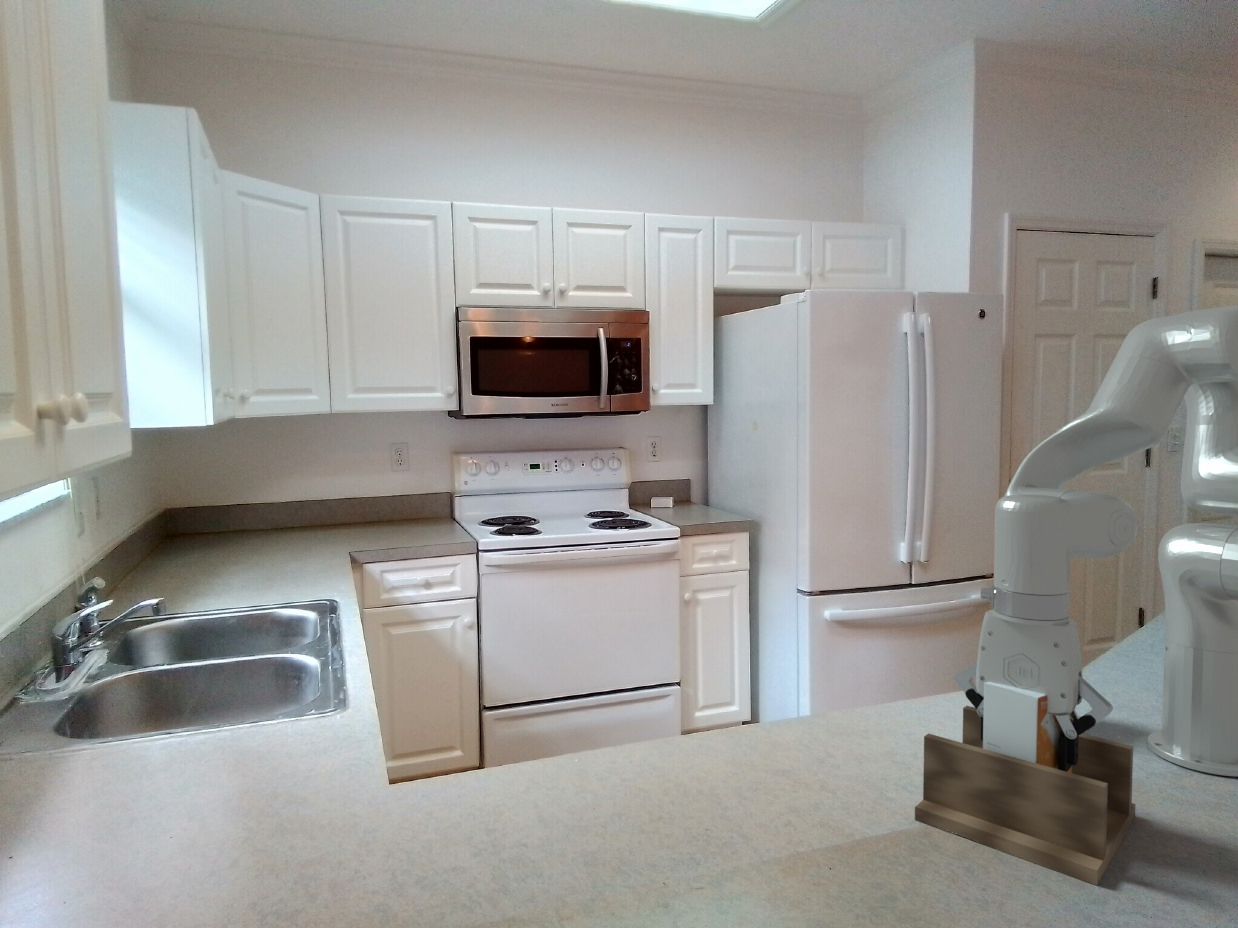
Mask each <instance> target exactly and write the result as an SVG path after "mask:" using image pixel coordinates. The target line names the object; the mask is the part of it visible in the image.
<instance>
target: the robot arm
mask: <svg viewBox="0 0 1238 928" xmlns="http://www.w3.org/2000/svg"><path fill="white" fill-rule="evenodd" d="M1183 399H1184V403H1185V407H1186V428H1185V433H1184V434H1185V435H1184V446H1183V453H1182V455H1183V456H1182V463H1181V464H1182V465H1181V472H1180V473H1181V475H1180V493H1181V497H1182V499H1183V502H1185V504H1186V505H1188V506H1189V507H1190V508H1192V509H1194V510H1196V511H1197V510H1198V511H1200V512H1205V513H1210V514H1215V515H1216V514H1217V515H1226V516H1237V517H1238V304H1237V305H1236V304H1235V305H1227V306H1217V307H1211V308H1210V307H1209V308H1203V309H1196V310H1191V311H1185V312H1183V313H1181V312H1180V313H1178V314H1175V315H1168V316H1161V317H1155V318H1151V319H1149V320H1145V321H1143V322H1141V323H1139V324H1137V325H1136V326H1135V327H1133V328H1132V329H1131V330H1129V333H1127V335H1126V337H1125V338H1124V340H1123V342H1122V344H1121V346H1120V348H1119V349H1118V352H1117V353H1116V355H1115V357H1114V359H1113V361H1112V362H1111V365H1110V367H1109V369H1108V370H1107V373H1106V375H1105V376H1104V378H1103V380H1102V382H1101V385H1100V386H1099V388H1098V389H1097V392H1096V394H1095V396H1094V398H1093V400H1092V401H1091V404H1090V405H1089V407H1088V409H1087V410H1086V411H1085V412H1083V413H1082V414H1081V415H1079V416H1078V417H1076V418H1074V419H1073V420H1071V421H1069V422H1067V424H1065V425H1063V426H1062V427H1060V428H1058V429H1057V430H1056V431H1055V432H1054V433H1052V434H1050V436H1048V437H1047V438H1045V440H1042V441H1041V442H1040V443H1039V444H1038V445H1036V446H1035V447H1034V448H1033V449H1032V450H1031V451H1030V452H1029V453H1028V454H1027V455H1026V456H1025V458H1024V459H1023V460H1022V462H1021V463H1020V465H1019V466H1018V468H1017V470H1016V472H1015V474H1014V476H1013V478H1012V479H1011V481H1010V483H1009V486H1008V487H1007V490H1006V492H1005V493H1004V495H1003V496H1002V497H1001V498H999V499H998V501H997V502H996V505H995V508H994V534H993V536H994V546H993V549H994V551H993V554H994V555H993V558H994V559H993V585H992V586H991V587H982V588H981V590H980V599H982V600H987V601H988V602H990V604H991V609H989V610H987V611H985V613H984V617H983V619H982V625H981V629H980V630H981V631H980V637H979V643H978V650H977V660H976V662H975V663H973V664H971V665H970V666H968V667H966V668H964V669H962V670H960V671H959V672H958V673H957V672H956V674H954V681H955V682H956V683H957V685H958V686H959V687H960V689H961V690H962V691H963V693H965V697H966V699H967V700H968V701H969V702H970V703H971V704H972V707H975V708H976V709H977V713H978V715H979V716H981V740H983V717H984V683H985V682H991V683H996V684H1001V685H1006V686H1011V687H1015V688H1020V689H1025V690H1029V691H1033V692H1037V693H1041V694H1045V695H1047V700H1048V702H1047V712H1048V713H1049V714H1052V715H1055V716H1056V718H1057V720H1058V722H1059V724H1060V726H1061V728H1062V730H1063V734H1062V735H1061V736H1060V737H1059V751H1058V770H1062V771H1065V772H1067V771H1068V770H1069V769H1070V768H1071V767H1072V765H1076V764H1077V762H1078V749H1079V735H1080V734H1085V732H1087V731H1089V730H1090V729H1092V728H1093V727H1094V726H1096V725H1097V724H1098V723H1100V722H1101V721H1102V720H1103V719H1105V718H1106V717H1108V715H1110V714H1111V713H1112V711H1113V710H1114V707H1113V705H1112V704H1111V703H1110V702H1109V701H1108V700H1107V699H1106V698H1105V697H1104V696H1103V695H1102V694H1101V693H1099V692H1098V691H1097V690H1096V689H1095V688H1094V687H1093V686H1092V685H1091V684H1090V683H1089V682H1088V681H1087V680H1086V679H1084V678H1083V666H1082V654H1081V645H1080V637H1079V634H1078V628H1077V624H1076V621H1075V619H1073V618H1070V574H1071V573H1070V569H1071V567H1070V566H1071V559H1072V558H1075V557H1076V558H1077V557H1078V558H1087V559H1089V558H1090V559H1107V558H1112V557H1115V556H1117V555H1120V554H1122V553H1123V552H1124V551H1126V550H1127V549H1129V547H1130V546H1132V544H1133V543H1134V541H1135V539H1136V536H1137V533H1138V517H1137V515H1136V513H1135V511H1134V508H1132V506H1131V505H1130V504H1129V503H1128V502H1126V501H1125V500H1123V499H1122V498H1120V496H1119V497H1118V496H1116V495H1114V494H1110V493H1105V492H1099V491H1086V490H1077V489H1076V490H1075V489H1069V488H1068V489H1067V488H1066V489H1065V488H1063V487H1064V486H1066V485H1067V483H1069V482H1070V481H1071V480H1072V479H1074V478H1076V477H1077V476H1078V475H1081V474H1082V473H1084V472H1086V471H1088V470H1091V469H1092V468H1093V469H1094V468H1095V467H1098V466H1100V465H1104V464H1106V463H1107V464H1108V463H1110V462H1114V461H1117V460H1120V459H1123V458H1127V457H1130V456H1132V455H1135V454H1137V453H1141V452H1144V451H1146V450H1148V449H1151V448H1153V447H1155V446H1156V445H1158V444H1159V443H1160V442H1161V441H1163V440H1164V438H1165V437H1166V435H1167V433H1168V432H1169V428H1170V427H1171V425H1172V422H1173V420H1174V418H1175V416H1176V413H1177V411H1178V409H1180V406H1181V404H1182V401H1183ZM1157 555H1158V556H1157V560H1158V561H1157V562H1158V567H1159V573H1160V576H1161V581H1162V588H1163V589H1162V590H1163V595H1164V612H1165V614H1164V615H1165V616H1164V620H1165V621H1164V649H1163V650H1164V654H1163V659H1164V660H1163V680H1162V681H1163V683H1162V684H1163V685H1162V686H1163V689H1162V715H1161V716H1162V717H1161V718H1162V720H1161V723H1162V724H1161V730H1158V731H1155V732H1152V733H1150V734H1149V735H1148V737H1147V747H1148V748H1149V750H1150V751H1151V752H1153V753H1154V754H1155V755H1157V756H1158V757H1160V758H1162V759H1164V760H1166V761H1168V762H1169V763H1173V764H1176V765H1178V766H1181V767H1184V768H1186V769H1190V770H1193V771H1198V772H1202V773H1205V774H1212V775H1219V776H1224V777H1225V776H1226V777H1233V778H1234V777H1237V778H1238V525H1228V524H1220V523H1218V524H1217V523H1208V522H1205V523H1204V522H1194V523H1192V522H1191V523H1184V524H1180V525H1177V526H1175V527H1173V528H1171V529H1169V530H1168V531H1167V532H1166V533H1165V534H1164V535H1163V537H1162V538H1161V540H1160V542H1159V545H1158V551H1157ZM973 678H975V682H974V681H973ZM1082 700H1084V701H1085V702H1087V703H1088V705H1090V707H1091V710H1090V711H1089V712H1087V713H1085V714H1084V715H1081V716H1080V717H1079V715H1078V713H1077V712H1076V708H1077V706H1078V705H1081V703H1082Z"/></svg>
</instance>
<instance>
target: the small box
mask: <svg viewBox="0 0 1238 928" xmlns="http://www.w3.org/2000/svg"><path fill="white" fill-rule="evenodd" d="M1047 702H1048V700H1047V695H1045V694H1041V693H1037V692H1033V691H1029V690H1025V689H1020V688H1015V687H1011V686H1006V685H1001V684H996V683H991V682H985V683H984V717H983V749H986V750H990V751H993V752H997V753H1001V754H1004V755H1008V756H1011V757H1015V758H1019V759H1022V760H1026V761H1029V762H1033V763H1037V764H1040V765H1044V766H1047V767H1051V768H1055V769H1058V751H1059V737H1060V736H1061V735H1062V734H1063V730H1062V728H1061V726H1060V724H1059V722H1058V720H1057V718H1056V716H1055V715H1052V714H1049V713H1048V712H1047ZM1067 772H1069V773H1072V767H1071V768H1070V769H1069V770H1068V771H1067Z"/></svg>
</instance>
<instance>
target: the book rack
mask: <svg viewBox="0 0 1238 928" xmlns="http://www.w3.org/2000/svg"><path fill="white" fill-rule="evenodd" d="M1133 761H1134V746H1133V745H1131V744H1126V743H1122V742H1117V741H1113V740H1111V739H1110V740H1109V739H1105V738H1101V737H1098V736H1094V735H1089V734H1085V733H1082V734H1080V735H1079V749H1078V762H1077V764H1076V765H1072V773H1069V772H1065V771H1062V770H1058V769H1055V768H1051V767H1047V766H1044V765H1040V764H1037V763H1033V762H1029V761H1026V760H1022V759H1019V758H1015V757H1011V756H1008V755H1004V754H1001V753H997V752H993V751H990V750H986V749H983V740H981V716H979V715H978V713H977V709H976V708H975V707H974V706H970V705H965V706H964V707H963V708H962V742H961V741H957V740H953V739H949V738H946V737H942V736H939V735H935V734H932V733H930V732H929V733H927V734H925V735H924V737H923V786H922V787H923V790H922V791H923V793H922V797H923V799H922V800H921V801H920V802H919V803H917V804H916V805H915V806H914V820H915V821H918V822H920V823H923V824H926V825H928V826H931V827H934V826H935V827H934V828H936V827H939V828H941V829H940V830H942V829H944V830H943V831H945V830H948V831H949V832H948V833H950V832H953V833H957V834H958V835H957V836H959V835H961V836H964V837H966V838H965V839H967V838H970V839H972V840H975V841H978V842H979V844H981V843H982V844H981V845H983V844H985V845H984V846H986V845H987V847H989V846H990V847H989V848H992V847H993V848H992V849H994V850H997V849H998V851H1000V850H1001V851H1000V852H1002V853H1006V854H1008V855H1012V856H1015V857H1017V858H1020V859H1023V860H1024V861H1028V862H1031V863H1034V864H1037V865H1039V866H1042V867H1045V868H1047V869H1050V870H1052V871H1056V872H1058V873H1060V874H1064V875H1067V876H1068V877H1069V876H1070V877H1072V878H1075V879H1078V880H1081V881H1083V882H1087V883H1088V884H1089V883H1090V884H1092V885H1095V886H1098V884H1099V882H1100V881H1101V879H1102V877H1103V876H1104V874H1105V872H1106V870H1107V868H1108V867H1109V865H1110V863H1111V861H1112V860H1113V857H1114V856H1115V854H1116V852H1117V850H1118V848H1119V847H1120V846H1121V843H1122V841H1123V840H1124V838H1125V836H1126V834H1127V832H1128V831H1129V829H1130V827H1131V825H1132V823H1133V822H1134V820H1135V818H1136V808H1137V807H1136V803H1133V802H1132V800H1133V768H1134V767H1133V766H1134V764H1133V763H1134V762H1133ZM939 828H938V829H939ZM953 833H952V834H953ZM961 836H960V837H961ZM964 837H963V838H964ZM970 839H969V840H970ZM972 840H971V841H972ZM975 841H974V842H975ZM978 842H977V843H978Z"/></svg>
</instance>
